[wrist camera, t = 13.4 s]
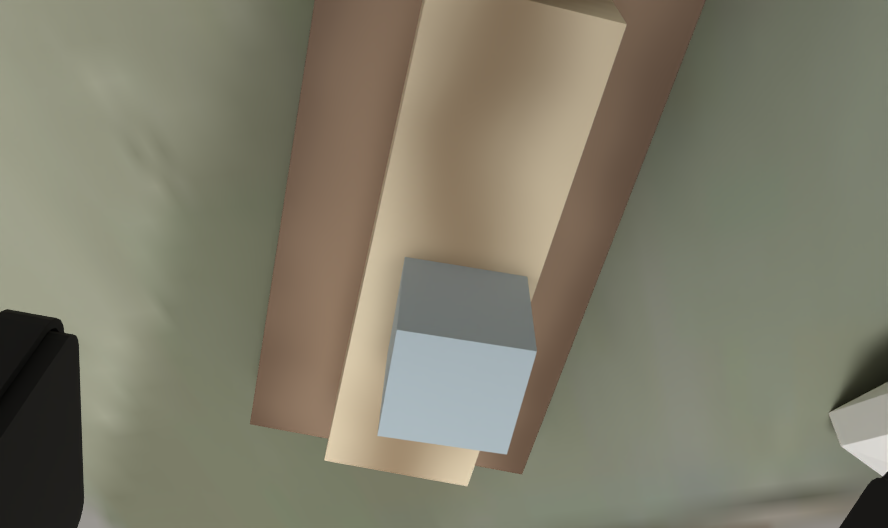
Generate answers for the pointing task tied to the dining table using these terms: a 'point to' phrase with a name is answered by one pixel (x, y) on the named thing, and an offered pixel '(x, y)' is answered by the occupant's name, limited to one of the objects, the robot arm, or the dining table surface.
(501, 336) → the block
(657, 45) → the dock
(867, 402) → the white faceted mound
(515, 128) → the beige rectangular bar
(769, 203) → the dining table surface
